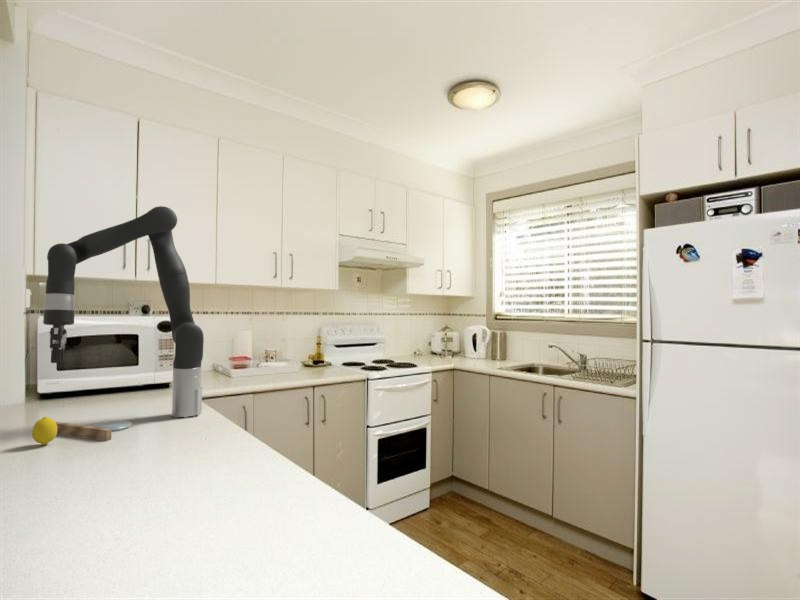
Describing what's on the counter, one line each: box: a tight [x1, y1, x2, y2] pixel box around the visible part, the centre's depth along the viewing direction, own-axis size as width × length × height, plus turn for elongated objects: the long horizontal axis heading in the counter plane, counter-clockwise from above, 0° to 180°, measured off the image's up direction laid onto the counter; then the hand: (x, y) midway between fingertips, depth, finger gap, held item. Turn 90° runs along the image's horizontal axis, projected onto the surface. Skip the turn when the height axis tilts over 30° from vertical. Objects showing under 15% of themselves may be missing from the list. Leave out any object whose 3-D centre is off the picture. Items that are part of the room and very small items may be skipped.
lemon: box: [31, 416, 58, 446], centre depth 125 cm, size 6×6×8 cm
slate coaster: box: [89, 420, 132, 433], centre depth 143 cm, size 12×12×1 cm
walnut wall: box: [55, 421, 113, 442], centre depth 134 cm, size 24×2×3 cm, turn 71°
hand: (57, 362), depth 135 cm, fingers open, 8 cm apart
